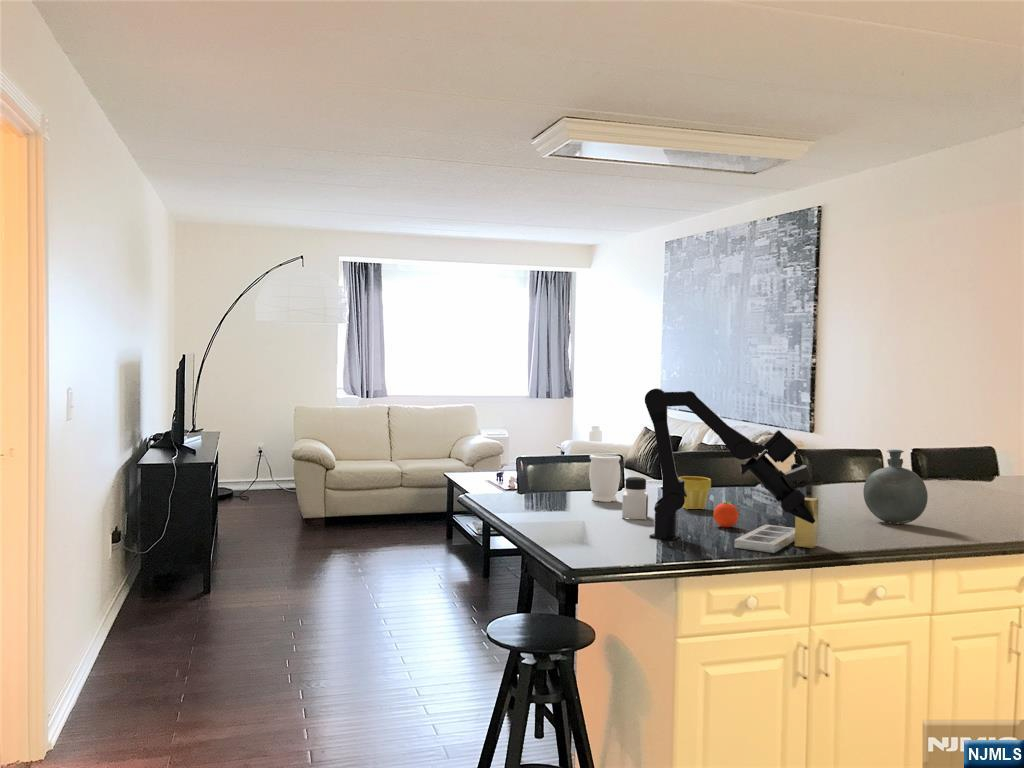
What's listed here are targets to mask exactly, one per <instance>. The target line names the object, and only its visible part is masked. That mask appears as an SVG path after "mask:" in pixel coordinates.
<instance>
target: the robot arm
mask: <svg viewBox="0 0 1024 768" xmlns="http://www.w3.org/2000/svg"><path fill="white" fill-rule="evenodd" d="M644 403H645V406H646V409H647V411H648V415H649V417H650V419H651V422H652V424H653V429H654V435H655V440H656V447H657V451H658V458H659V462H660V469H661V473H662V475H661V476H662V490H661V491H662V496H661V498H660V499H659V500H658V501H656V502H655V504H654V508H653V509H654V532H653V533H652V534H650V535H649V538H653V539H654V538H655V539H661V540H669V541H673V540H676V539H678V538H681V537H682V534H678V533H677V517H678V515H677V511H678V510H680V509H681V508H683V505H684V502H685V497H687V492H686V490H685V486H684V479H681V480H679V475H678V473H677V469H676V464H675V463H676V462H675V458H674V453H673V447H672V446H673V445H672V441H671V436H670V428H669V425H668V407H687V408H688V409H689V410H690V411H691V412H692V413H693V414H695V416H697V418H699V419H700V420H701V421H702V422H703V423H704V424H705V425H706V426H707V427H709V428H710V429H711V431H713V432H714V433H715V434H716V435H717V436H718V437H719V438H720V439H721V441H722V442H723V444H724V445H725V446H726V448H727V449H728V450H729V452H730V453H731V454H732V455H733V457H734V458H735V459H738V460H740V461H741V460H743V461H745V460H746V462H741V463H739V465H740V474H741V475H745V474H746V473H747V472H749V473H750V474H751V475H752V476H753V477H754V478H755V479H756V480H757V481H758V482H759V483H760V484H761V486H763V488H765V490H767V491H768V492H769V493H770V494H771V495H772V496H773V498H774V499H775V500H776V501H777V502H778V503H779V506H780V508H781V509H782V510H783V511H784V512H785V513H787V514H790V515H793V516H794V517H795V516H797V517H799V518H801V519H803V520H805V521H808V522H810V523H812V524H813V523H814V522H815V519H814V518H813V516H812V515H811V513H810V512H809V510H808V509H807V507H806V506H805V504H804V502H805V498H806V494H804V493H803V492H802V491H801V490H800V488H798V486H797V485H796V484H799V483H801V482H803V481H805V480H806V481H808V480H810V479H812V477H813V476H812V474H811V473H810V470H809V468H808V466H807V465H806V464H802V465H800V464H798V463H796V462H795V463H793V464H791V465H790V469H789V470H788V471H785V472H783V471H782V469H779V468H778V467H777V466H776V465H775V464H777V463H784V462H785V461H787V460H788V459H789V457H790V456H792V455H793V454H794V453H795V452H796V451H797V450H799V447H798V445H796V444H795V443H794V442H793V441H792V440H791V439H790V438H788V437H787V436H786V435H785V434H784V433H783V432H782V431H781V430H779V429H777V430H776V431H775V432H774V433H773V435H772V436H770V437H769V439H767V440H766V441H765V442H764V443H762V442H759V441H757V442H755V441H752V440H750V438H749V437H746V436H745V435H743V434H742V433H741V432H739V431H738V430H736V429H734V428H733V427H731V426H729V424H727V423H726V422H725V421H724V420H723V419H722V418H720V416H718V415H717V414H716V413H715V412H714V411H713V410H712V409H711V408H710V407H709V406H707V405H706V404H705V403H704V401H702V399H700V398H699V397H698V396H697V395H696V393H695V392H694V391H692V390H687V391H664V390H663V389H661V388H651V389H649V391H647V393H646V394H645V396H644ZM753 455H758V456H756V457H755V456H753ZM766 455H768V457H769V458H770V459H772V460H773V462H774V463H775V464H774V463H773V462H772V461H771V460H770V459H769V458H768V457H767V456H766ZM747 459H748V460H747Z"/></svg>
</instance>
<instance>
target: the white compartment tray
mask: <svg viewBox="0 0 1024 768" xmlns="http://www.w3.org/2000/svg"><path fill="white" fill-rule="evenodd" d="M793 542H795V527H790V526H789V527H787V526H783V525H782V526H781V525H774V524H764V525H761V526H759V527H757V528H755V529H754V530H751V531H749V532H747V533H745V534H742V535H741V536H739V537H737V538H735V539H734V543H733V545H734V547H733V548H735V549H742V550H750V551H757V552H765V553H772V554H775V553H777V552H779V551H781V550H782V549H784V548H785V547H787V546H788V545H791V543H793Z"/></svg>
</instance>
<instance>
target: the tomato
mask: <svg viewBox="0 0 1024 768" xmlns="http://www.w3.org/2000/svg"><path fill="white" fill-rule="evenodd" d="M712 515H713V519H714V521H715V523H716V524H717V525H718V526H720V527H722V528H731V527H733V526H734V525H736V523H737V522H738V521H739V511H738V508H736V506H735V505H734V504H733V503H732V502H726V501H725V502H721V503H719V504H718V505H716V507H714V511H713V514H712Z"/></svg>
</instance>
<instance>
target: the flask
mask: <svg viewBox="0 0 1024 768" xmlns="http://www.w3.org/2000/svg"><path fill="white" fill-rule="evenodd" d="M886 453H889V457H890V458H887V464H888V466H886V467H882V468H877V470H875V471H872V472H871V473H870V474H869V476H868V477H867V478H866V480H865V482H864V485H863V499H864V503H865V504H866V507H867V508H868V510H869V511H870V512H871V513H872V514H873V515H874V516H875V517H876V518H877V519H879V520H881V521H883V522H885V523H887V522H891V523H900V524H899V525H903V524H905V525H906V524H909V523H911V522H913V521H916V520H917V519H918V518H920V517H921V516H922V514H923V513H924V511H925V510H926V507H927V505H928V499H929V498H928V497H929V495H928V489H927V487H926V483H925V482H924V481H923V479H922V477H920V476H919V475H918V474H917V473H916V472H914V471H913V470H911V469H908V468H904V467H903V464H904V459H903V458H901V456H902V454H903V453H905V451H903V450H901V449H888V450H886ZM891 523H890V524H891Z"/></svg>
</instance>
